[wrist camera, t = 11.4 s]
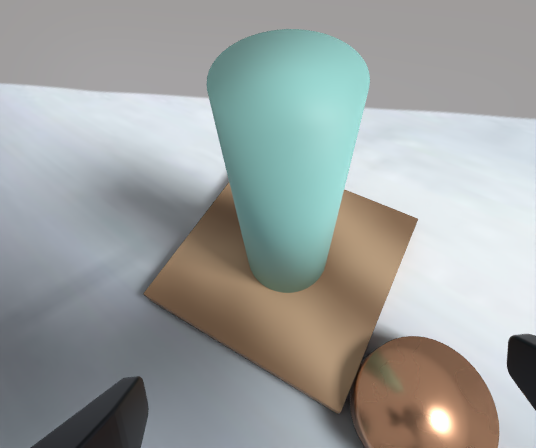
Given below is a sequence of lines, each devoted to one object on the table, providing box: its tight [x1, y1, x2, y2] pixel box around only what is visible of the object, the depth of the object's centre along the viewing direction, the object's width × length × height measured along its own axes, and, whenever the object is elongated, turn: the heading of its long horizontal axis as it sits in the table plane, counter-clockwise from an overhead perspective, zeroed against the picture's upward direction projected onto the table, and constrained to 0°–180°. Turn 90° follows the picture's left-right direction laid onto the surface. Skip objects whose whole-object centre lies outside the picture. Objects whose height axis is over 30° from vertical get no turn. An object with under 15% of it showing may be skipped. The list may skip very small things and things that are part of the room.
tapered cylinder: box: [207, 29, 370, 293], centre depth 15 cm, size 5×5×12 cm
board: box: [144, 183, 418, 414], centre depth 20 cm, size 12×12×1 cm
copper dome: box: [350, 336, 499, 448], centre depth 16 cm, size 6×6×2 cm
